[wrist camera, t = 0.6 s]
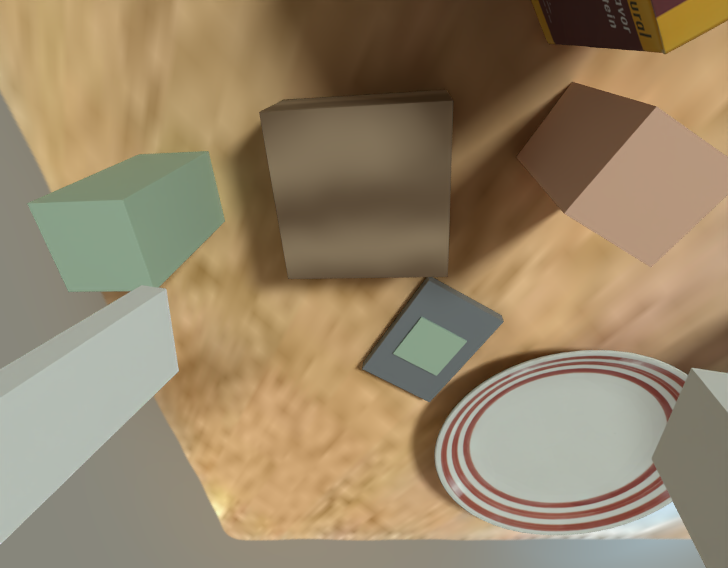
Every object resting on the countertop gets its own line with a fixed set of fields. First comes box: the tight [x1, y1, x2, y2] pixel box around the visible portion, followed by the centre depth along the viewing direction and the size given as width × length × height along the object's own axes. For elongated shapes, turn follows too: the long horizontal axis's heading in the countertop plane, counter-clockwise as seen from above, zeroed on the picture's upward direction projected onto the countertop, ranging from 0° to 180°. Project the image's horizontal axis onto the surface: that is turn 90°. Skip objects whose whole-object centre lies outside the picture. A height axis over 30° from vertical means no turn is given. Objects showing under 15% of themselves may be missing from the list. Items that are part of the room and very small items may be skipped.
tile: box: [362, 277, 504, 402], centre depth 42 cm, size 12×8×1 cm, turn 151°
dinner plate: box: [435, 350, 688, 535], centre depth 46 cm, size 27×27×3 cm
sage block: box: [28, 151, 225, 292], centre depth 32 cm, size 6×6×12 cm
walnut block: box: [259, 90, 453, 279], centre depth 32 cm, size 12×12×6 cm
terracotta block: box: [516, 82, 728, 267], centre depth 27 cm, size 6×6×12 cm
